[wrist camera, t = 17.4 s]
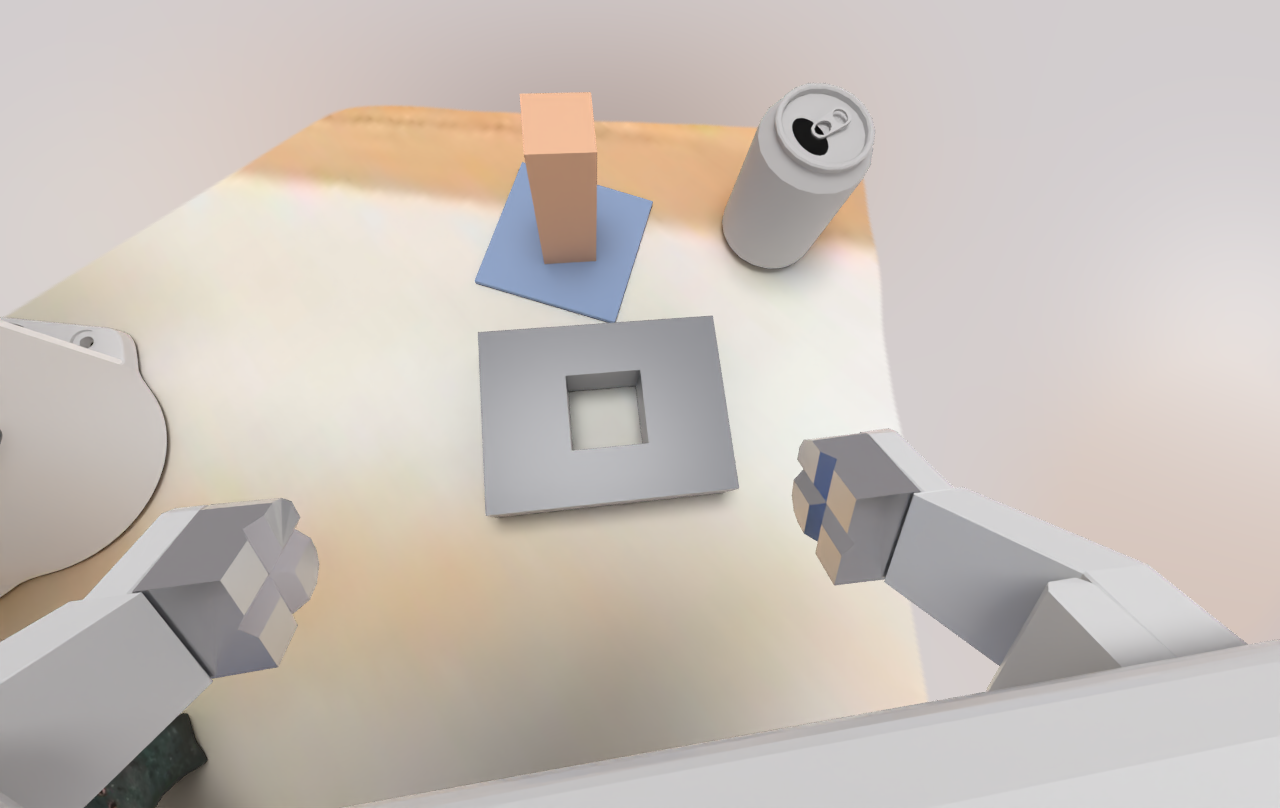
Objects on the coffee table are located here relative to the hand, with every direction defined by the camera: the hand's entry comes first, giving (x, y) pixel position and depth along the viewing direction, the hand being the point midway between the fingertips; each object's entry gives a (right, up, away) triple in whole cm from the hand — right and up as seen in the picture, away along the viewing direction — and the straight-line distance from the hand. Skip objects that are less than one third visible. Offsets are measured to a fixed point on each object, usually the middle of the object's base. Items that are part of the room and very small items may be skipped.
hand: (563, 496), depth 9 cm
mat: (-4, +14, +32) cm, 36 cm away
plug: (-4, +14, +32) cm, 35 cm away
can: (+11, +16, +34) cm, 39 cm away
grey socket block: (-1, 0, +29) cm, 29 cm away
